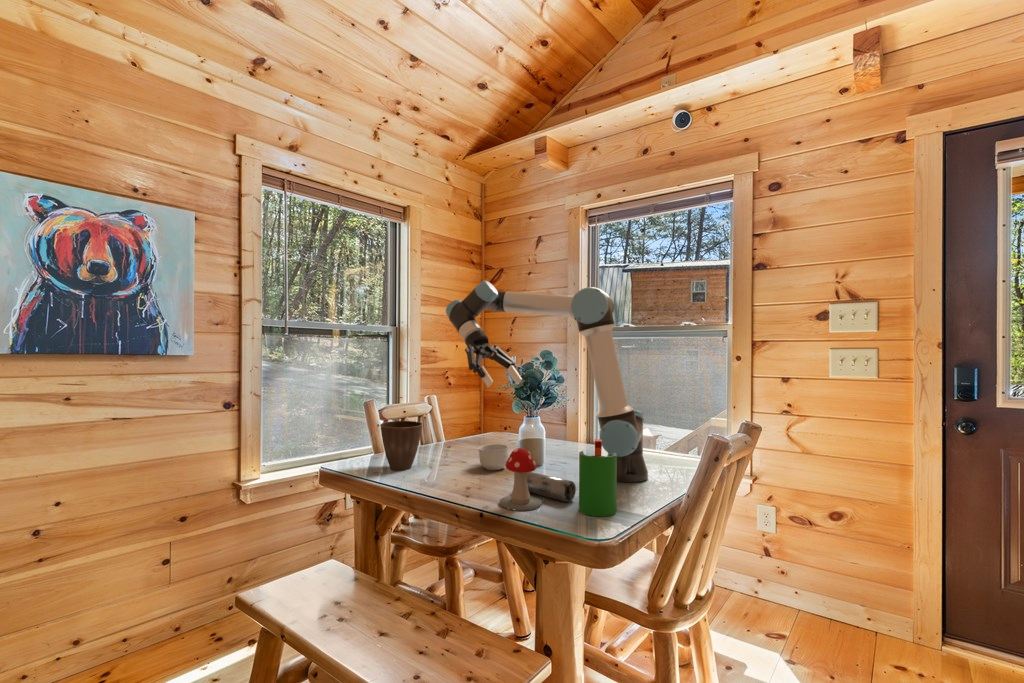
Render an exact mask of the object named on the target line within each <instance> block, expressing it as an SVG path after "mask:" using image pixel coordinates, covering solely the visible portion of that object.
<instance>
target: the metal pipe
mask: <svg viewBox="0 0 1024 683" xmlns="http://www.w3.org/2000/svg"><path fill="white" fill-rule="evenodd" d="M527 485H528V491H529V493H531V494H534V495H538V496H543V497H546V498H549V499H550V498H551V499H553V500H557V501H561V502H564V503H571V502H572V501H573V500H574V499H575V496H576V493H577V492H576V491H577V490H576V489H577V488H576V484H575V482H574V481H571V480H568V479H563V478H559V477H554V476H551V475H547V474H543V473H542V474H541V473H537V472H534V471H532V472H528V473H527Z"/></svg>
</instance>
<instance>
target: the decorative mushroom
mask: <svg viewBox="0 0 1024 683" xmlns="http://www.w3.org/2000/svg"><path fill="white" fill-rule="evenodd" d="M504 467H505V468H506V469H507V470H508V471H510V472H513V473H514V476H513V477H514V479H513V480H514V481H513V489H512V491H511V494H510V496H511V499H512V501H513V502H514V503H516V504H527V503H529V500H530V496H531V495H530V492H529V491H528V485H527V473H528V472H534V471H536V469H537V463H536V461H535V459H534V458H533V456H532V454H531V452H530V451H529V450H527V449H526V448H522V447H518V448H515V449H514V450H513V451H511V452H510V455H508V460H507V461H506V465H505V466H504Z"/></svg>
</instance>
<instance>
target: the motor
mask: <svg viewBox="0 0 1024 683" xmlns="http://www.w3.org/2000/svg"><path fill="white" fill-rule="evenodd" d="M602 448H603V447H602V439H600V438H599V439H597V438H596V439H595V438H594V455H588V454H585V453H584V451H582V450H581V451H579V453H578V458H579V459H578V511H579V512H580V513H581V512H582V514H583V513H584V514H583V515H587V516H592V517H610V516H613V515H615V514H616V513H617V494H618V493H617V488H618V487H617V482H618V481H617V454H616V453H613V455H612V456H607V455H602V450H603V449H602Z"/></svg>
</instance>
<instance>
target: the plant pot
mask: <svg viewBox="0 0 1024 683" xmlns="http://www.w3.org/2000/svg"><path fill="white" fill-rule="evenodd" d="M379 426H380V434H381V438H382V439H381V440H382V444H383V445H382V446H383V450H384V452H385V457H386V460H387V463H388V466H389V468H390V469H391V470H394V471H407V470H411V468H412V466H413V464H414V461H415V458H416V455H417V451H418V448H419V445H420V440H421V437H422V436H421V435H422V430H423V423H422V422H419V421H413V420H395V421H394V420H393V421H387V422H382V423H381V424H380V425H379Z"/></svg>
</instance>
